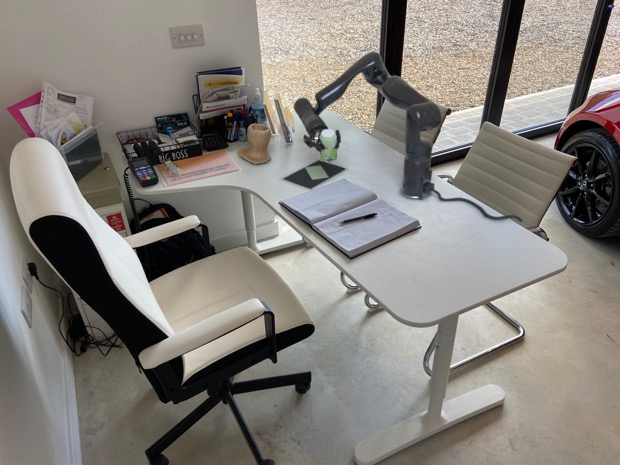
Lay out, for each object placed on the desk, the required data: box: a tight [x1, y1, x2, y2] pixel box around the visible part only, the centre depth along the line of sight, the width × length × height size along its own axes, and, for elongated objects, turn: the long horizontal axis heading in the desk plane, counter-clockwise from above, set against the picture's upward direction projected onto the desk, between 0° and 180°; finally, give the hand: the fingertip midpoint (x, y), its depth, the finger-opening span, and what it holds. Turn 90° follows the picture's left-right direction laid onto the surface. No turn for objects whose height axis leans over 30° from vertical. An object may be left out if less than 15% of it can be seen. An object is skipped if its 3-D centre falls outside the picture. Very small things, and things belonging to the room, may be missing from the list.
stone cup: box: [236, 123, 272, 165], centre depth 209 cm, size 15×12×15 cm
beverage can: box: [319, 128, 338, 164], centre depth 177 cm, size 6×7×12 cm
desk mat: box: [283, 159, 346, 190], centre depth 198 cm, size 14×22×1 cm, turn 140°
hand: (328, 148), depth 175 cm, fingers closed on beverage can, 5 cm apart
